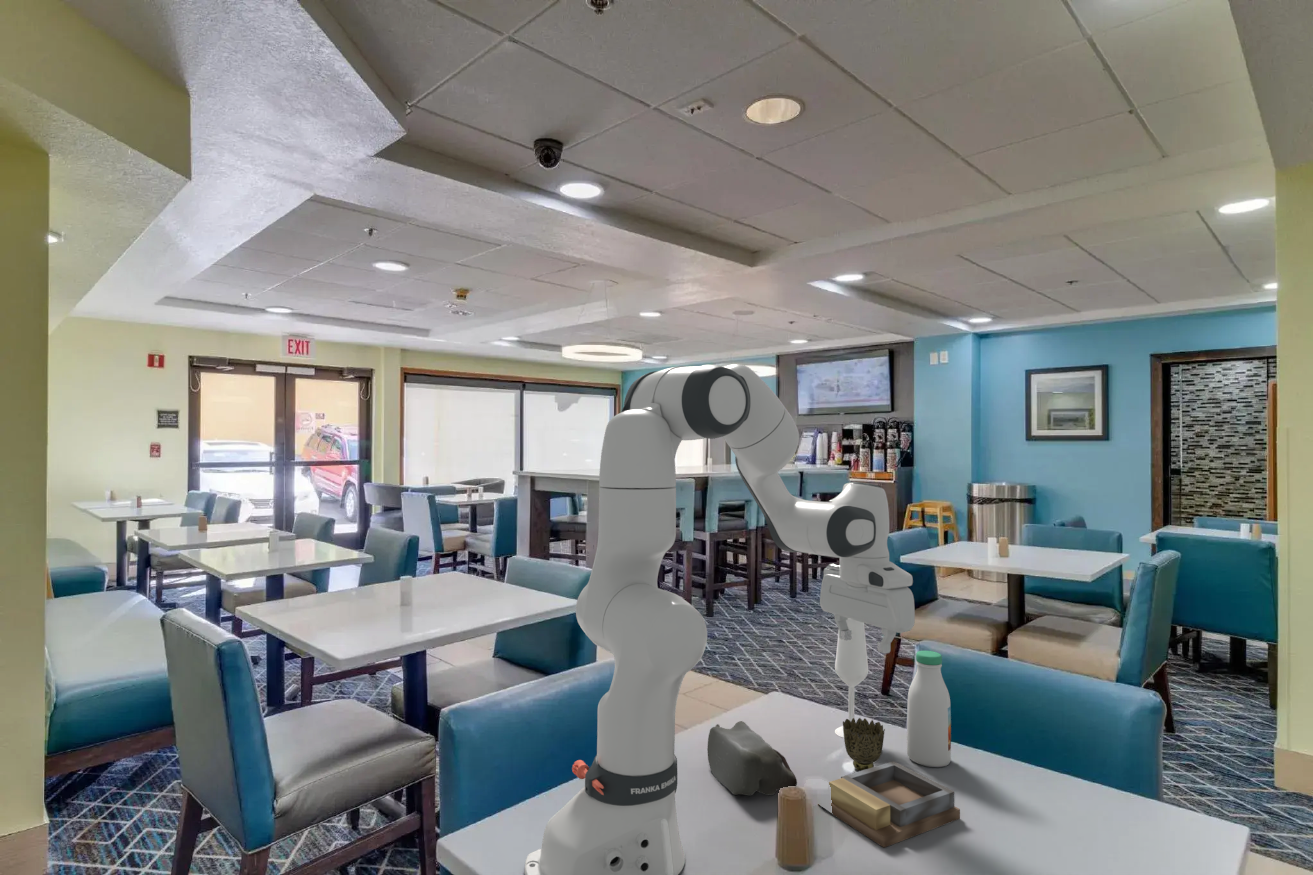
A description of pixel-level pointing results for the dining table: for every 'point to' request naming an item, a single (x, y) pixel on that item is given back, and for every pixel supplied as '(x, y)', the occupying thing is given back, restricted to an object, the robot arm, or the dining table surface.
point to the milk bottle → (929, 713)
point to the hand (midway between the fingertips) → (864, 645)
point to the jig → (891, 803)
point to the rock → (746, 761)
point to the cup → (863, 742)
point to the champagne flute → (851, 662)
